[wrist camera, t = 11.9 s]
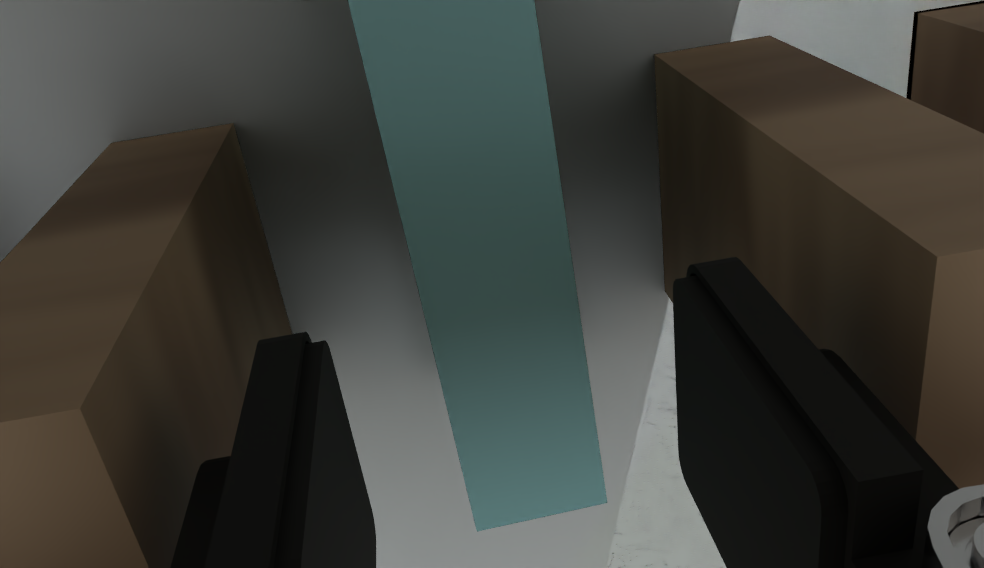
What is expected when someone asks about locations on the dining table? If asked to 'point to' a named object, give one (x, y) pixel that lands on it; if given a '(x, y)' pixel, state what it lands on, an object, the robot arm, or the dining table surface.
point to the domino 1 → (129, 350)
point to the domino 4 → (949, 62)
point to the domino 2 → (488, 245)
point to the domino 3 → (837, 222)
